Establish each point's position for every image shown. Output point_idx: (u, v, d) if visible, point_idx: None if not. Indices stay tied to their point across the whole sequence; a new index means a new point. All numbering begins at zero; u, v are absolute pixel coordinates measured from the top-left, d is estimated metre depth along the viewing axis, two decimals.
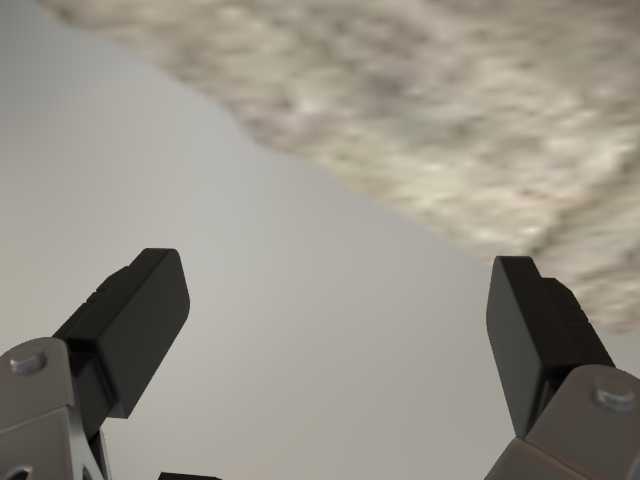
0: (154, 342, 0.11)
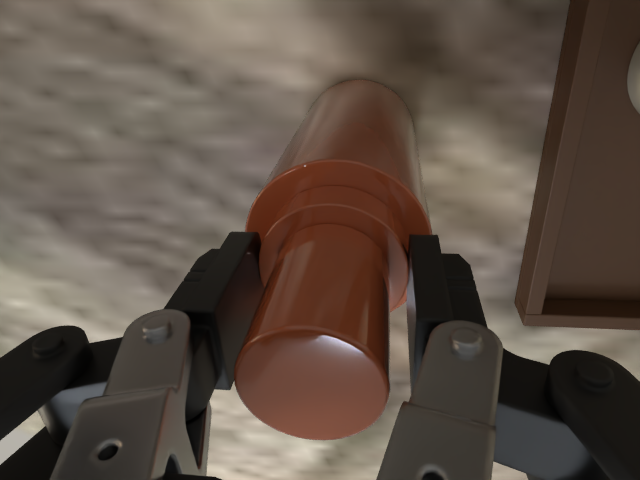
0: (245, 320, 0.11)
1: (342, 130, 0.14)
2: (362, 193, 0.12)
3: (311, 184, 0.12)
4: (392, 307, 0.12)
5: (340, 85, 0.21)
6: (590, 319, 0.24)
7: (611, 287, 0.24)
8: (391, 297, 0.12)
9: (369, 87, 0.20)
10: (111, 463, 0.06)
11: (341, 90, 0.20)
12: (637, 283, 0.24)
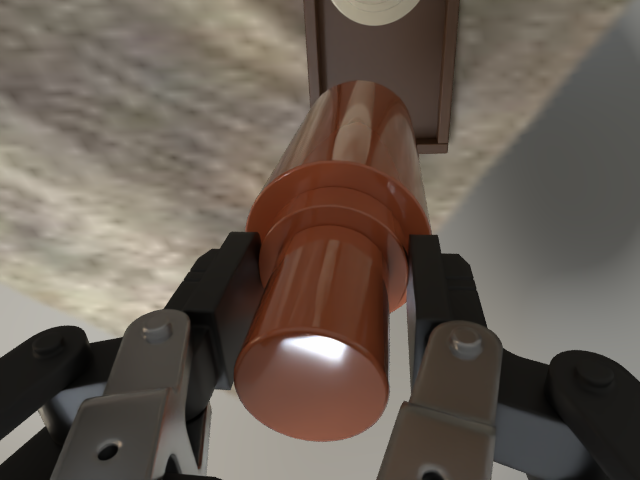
0: (245, 320, 0.11)
1: (343, 131, 0.14)
2: (362, 194, 0.12)
3: (311, 185, 0.12)
4: (392, 308, 0.12)
5: (340, 86, 0.21)
6: None
7: None
8: (391, 298, 0.12)
9: (369, 88, 0.20)
10: (111, 463, 0.06)
11: (341, 91, 0.20)
12: None
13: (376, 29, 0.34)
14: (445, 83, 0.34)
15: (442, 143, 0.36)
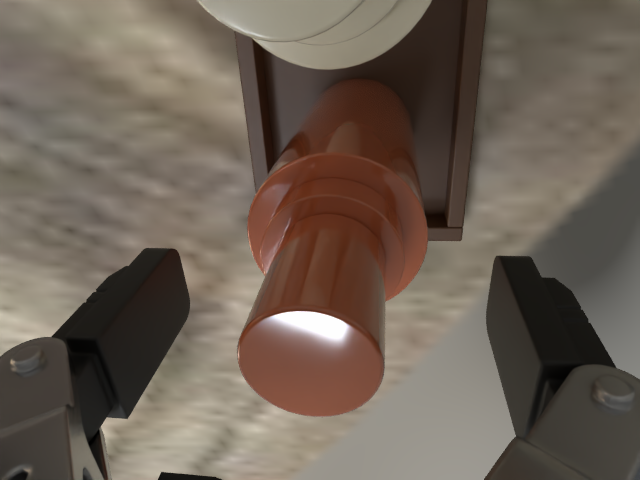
0: (154, 342, 0.11)
1: (342, 126, 0.15)
2: (360, 185, 0.13)
3: (311, 177, 0.13)
4: (388, 295, 0.13)
5: (340, 83, 0.21)
6: None
7: None
8: (387, 285, 0.13)
9: (368, 85, 0.21)
10: None
11: (341, 88, 0.20)
12: None
13: None
14: (460, 141, 0.21)
15: (454, 227, 0.23)
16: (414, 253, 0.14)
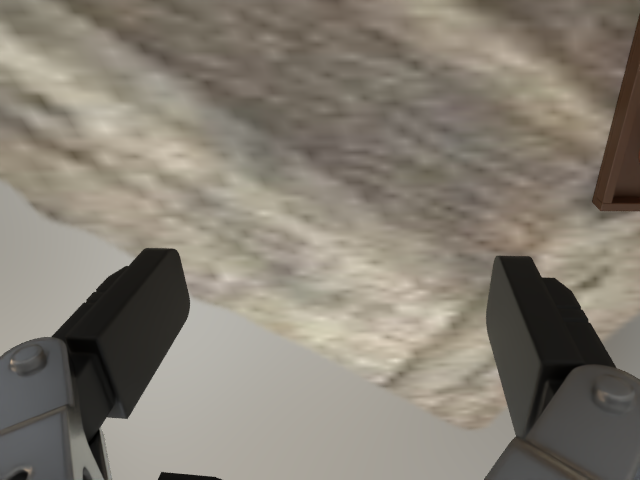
0: (154, 342, 0.11)
1: None
2: None
3: None
4: None
5: None
6: None
7: None
8: None
9: None
10: None
11: None
12: None
13: None
14: None
15: None
16: None
